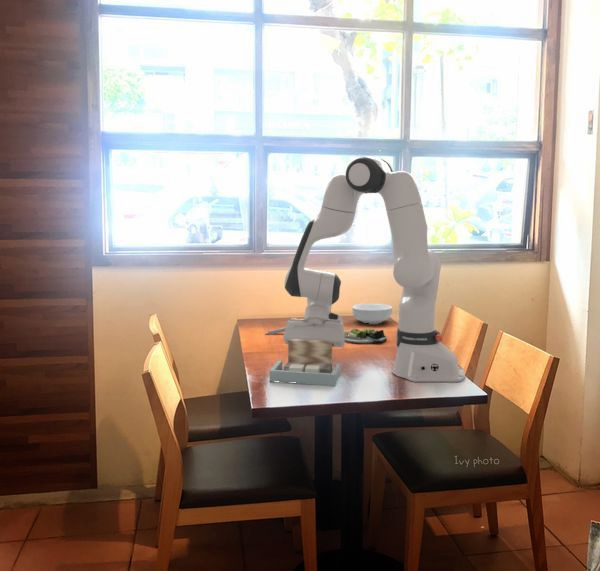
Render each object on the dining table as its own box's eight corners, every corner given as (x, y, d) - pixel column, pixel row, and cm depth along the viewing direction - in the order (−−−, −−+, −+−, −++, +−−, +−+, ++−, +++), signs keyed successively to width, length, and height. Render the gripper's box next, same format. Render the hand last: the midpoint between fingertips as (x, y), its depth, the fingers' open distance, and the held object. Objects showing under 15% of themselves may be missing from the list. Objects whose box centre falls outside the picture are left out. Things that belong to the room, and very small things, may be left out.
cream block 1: (304, 377, 201) (304, 364, 201) (301, 380, 197) (301, 368, 197) (291, 376, 202) (291, 363, 201) (289, 380, 198) (289, 367, 197)
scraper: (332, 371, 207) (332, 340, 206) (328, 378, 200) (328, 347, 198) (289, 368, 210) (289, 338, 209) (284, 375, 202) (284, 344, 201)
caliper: (315, 332, 260) (315, 317, 259) (315, 333, 259) (315, 318, 258) (264, 334, 257) (264, 319, 256) (265, 335, 256) (264, 319, 255)
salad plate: (339, 346, 239) (339, 334, 239) (332, 335, 257) (332, 323, 256) (390, 345, 241) (390, 333, 240) (380, 334, 259) (380, 322, 258)
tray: (340, 374, 203) (340, 363, 203) (334, 386, 192) (335, 374, 191) (278, 370, 207) (278, 360, 207) (269, 381, 196) (269, 370, 195)
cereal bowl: (387, 318, 287) (387, 302, 286) (395, 326, 270) (395, 309, 269) (349, 318, 286) (349, 303, 285) (355, 327, 269) (355, 310, 268)
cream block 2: (320, 377, 200) (320, 365, 200) (317, 381, 196) (317, 369, 196) (307, 377, 201) (307, 364, 200) (304, 381, 197) (304, 368, 197)
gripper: (285, 313, 216) (278, 349, 208) (346, 316, 212) (341, 352, 204) (288, 323, 221) (281, 358, 213) (347, 326, 217) (343, 362, 209)
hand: (311, 355), depth 209 cm, fingers closed
